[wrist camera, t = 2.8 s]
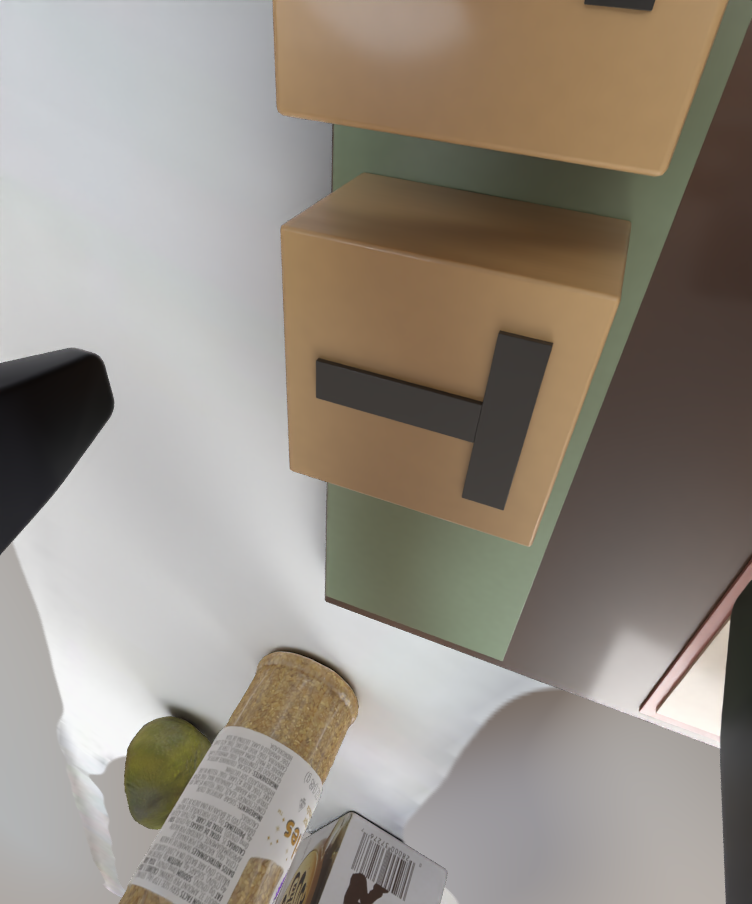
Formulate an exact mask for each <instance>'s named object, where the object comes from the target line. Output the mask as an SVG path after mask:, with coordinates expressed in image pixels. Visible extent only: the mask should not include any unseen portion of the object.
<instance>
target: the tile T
mask: <svg viewBox="0 0 752 904" xmlns="http://www.w3.org/2000/svg"><path fill="white" fill-rule="evenodd" d="M631 226H632V225H631V222H630V221H627V220H621V219H616V218H610V217H605V216H599V215H594V214H588V213H583V212H577V211H572V210H567V209H561V208H556V207H550V206H545V205H539V204H534V203H528V202H523V201H517V200H512V199H507V198H501V197H496V196H490V195H485V194H479V193H474V192H468V191H463V190H457V189H452V188H447V187H441V186H436V185H430V184H425V183H419V182H414V181H408V180H403V179H397V178H392V177H387V176H381V175H376V174H370V173H365V172H364V173H361V174H360V175H358V176H357V177H355V178H354V179H352V180H350V181H349V182H347V183H346V184H344V185H343V186H341V187H340V188H338V189H337V190H335V191H334V192H332V193H330V194H329V195H327V196H326V197H324V198H323V199H321V200H320V201H318V202H317V203H315V204H314V205H312V206H310V207H309V208H307V209H306V210H304V211H303V212H301V213H300V214H298V215H297V216H295V217H294V218H292V219H290V220H289V221H287V222H286V223H284V224H283V225H282V226H281V229H280V232H281V258H282V283H283V309H284V334H285V359H286V385H287V410H288V436H289V461H290V470H292V471H294V472H297V473H300V474H303V475H306V476H309V477H313V478H316V479H319V480H322V481H325V482H328V483H331V484H334V485H337V486H341V487H344V488H347V489H350V490H353V491H356V492H359V493H362V494H365V495H369V496H372V497H375V498H378V499H381V500H384V501H387V502H390V503H393V504H397V505H400V506H403V507H406V508H409V509H412V510H415V511H418V512H421V513H425V514H428V515H431V516H434V517H437V518H440V519H443V520H446V521H449V522H453V523H456V524H459V525H462V526H465V527H468V528H471V529H474V530H477V531H481V532H484V533H487V534H490V535H493V536H496V537H499V538H502V539H505V540H509V541H512V542H515V543H518V544H521V545H524V546H527V547H530V546H531V545H532V544H533V541H534V539H535V536H536V533H537V530H538V528H539V525H540V522H541V519H542V517H543V514H544V511H545V508H546V505H547V503H548V500H549V497H550V494H551V492H552V489H553V486H554V483H555V481H556V478H557V475H558V472H559V470H560V467H561V464H562V461H563V458H564V456H565V453H566V450H567V447H568V445H569V442H570V439H571V436H572V434H573V431H574V428H575V425H576V423H577V420H578V417H579V414H580V411H581V409H582V406H583V403H584V400H585V398H586V395H587V392H588V389H589V387H590V384H591V381H592V378H593V375H594V373H595V370H596V367H597V364H598V362H599V359H600V356H601V353H602V351H603V348H604V345H605V342H606V340H607V337H608V334H609V331H610V328H611V326H612V323H613V320H614V317H615V315H616V312H617V309H618V306H619V304H620V300H621V293H622V287H623V280H624V273H625V267H626V260H627V253H628V246H629V240H630V233H631Z"/></svg>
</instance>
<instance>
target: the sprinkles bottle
mask: <svg viewBox="0 0 752 904" xmlns="http://www.w3.org/2000/svg"><path fill="white" fill-rule="evenodd" d="M358 707H359V706H358V701H357V698H356V696H355V694H354V692H353V690H352V688H351V687H350V686H349V684H348V683H346V682H345V681H344V680H343V679H342V678H341V677H340V676H339V675H338V674H337V673H336V672H334V671H333V670H331V669H330V668H328V667H326V666H324V665H322V664H320V663H318V662H316V661H314V660H312V659H310V658H307V657H304V656H302V655H299V654H295V653H291V652H282V651H279V652H273V653H270V654H269V655H266V656H264V657H263V659H262V660H261V661H260V662H259V664H258V666H257V670H256V675H255V677H254V679H253V681H252V682H251V684H250V685H249V688H248V689H247V691H246V693H245V695H244V696H243V698H242V699H241V701H240V703H239V704H238V706H237V707H236V709H235V710H234V712H233V714H232V716H231V717H230V719H229V722H228V723H227V725H226V726H225V727H224V728H223V729H222V730H221V731H220V732H219V734H218V735H217V737H216V739H215V740H214V742H213V743H212V745H211V747H210V748H209V750H208V752H207V753H206V755H205V757H204V758H203V760H202V762H201V763H200V765H199V767H198V768H197V770H196V771H195V773H194V775H193V776H192V778H191V780H190V781H189V783H188V785H187V786H186V788H185V790H184V791H183V793H182V795H181V796H180V798H179V800H178V801H177V803H176V805H175V806H174V808H173V810H172V811H171V813H170V814H169V816H168V818H167V819H166V821H165V823H164V825H163V826H162V828H161V830H160V831H159V833H158V835H157V836H156V838H155V840H154V841H153V843H152V845H151V846H150V848H149V850H148V852H147V853H146V855H145V857H144V858H143V860H142V862H141V863H140V865H139V867H138V868H137V870H136V872H135V873H134V875H133V877H132V879H131V880H130V882H129V884H128V887H127V890H126V892H125V894H124V895H123V897H122V899H121V900H120V902H119V904H274V901H275V899H276V897H277V895H278V893H279V891H280V888H281V886H282V884H283V881H284V879H285V877H286V874H287V872H288V870H289V868H290V865H291V863H292V861H293V859H294V856H295V854H296V851H297V849H298V846H299V844H300V842H301V840H302V837H303V835H304V833H305V830H306V828H307V826H308V824H309V821H310V819H311V817H312V814H313V812H314V810H315V807H316V805H317V803H318V801H319V799H320V796H321V794H322V790H323V783H324V782H325V780H326V778H327V775H328V774H329V771H330V768H331V766H332V765H333V763H334V760H335V756H336V755H337V753H338V750H339V748H340V746H341V744H342V741H343V739H344V737H345V735H346V732H347V730H348V728H349V726H350V725H351V724H352V723H353V722H354V721H355V719H356V717H357V714H358Z"/></svg>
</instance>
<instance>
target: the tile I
mask: <svg viewBox="0 0 752 904" xmlns="http://www.w3.org/2000/svg"><path fill="white" fill-rule="evenodd" d="M728 1H729V0H273V26H274V52H275V78H276V104H277V110H278V112H279V113H280V114H282V115H284V116H289V117H295V118H301V119H307V120H313V121H319V122H325V123H331V124H337V125H343V126H349V127H355V128H361V129H368V130H374V131H380V132H386V133H392V134H398V135H404V136H410V137H416V138H422V139H428V140H434V141H440V142H446V143H453V144H459V145H465V146H471V147H477V148H483V149H489V150H495V151H501V152H507V153H513V154H519V155H525V156H531V157H538V158H544V159H550V160H556V161H562V162H568V163H574V164H580V165H586V166H592V167H598V168H604V169H610V170H616V171H623V172H629V173H635V174H641V175H647V176H653V177H656V176H661V175H663V174H664V173H665V172H666V170H667V169H668V167H669V165H670V162H671V159H672V156H673V153H674V151H675V148H676V145H677V142H678V140H679V137H680V134H681V131H682V129H683V126H684V123H685V120H686V117H687V115H688V112H689V109H690V106H691V104H692V101H693V98H694V95H695V93H696V90H697V87H698V84H699V82H700V79H701V76H702V73H703V70H704V68H705V65H706V62H707V59H708V57H709V54H710V51H711V48H712V46H713V43H714V40H715V37H716V34H717V32H718V29H719V26H720V23H721V21H722V18H723V15H724V12H725V10H726V7H727V4H728Z"/></svg>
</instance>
